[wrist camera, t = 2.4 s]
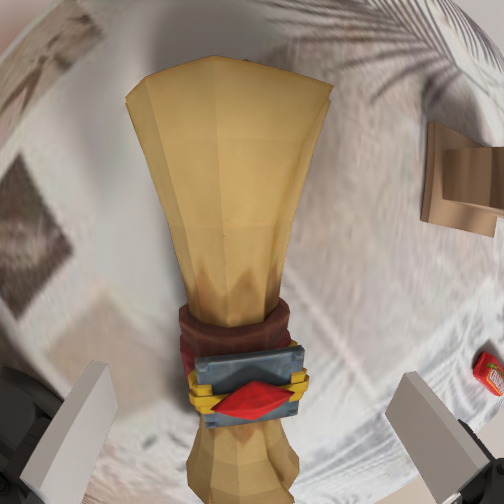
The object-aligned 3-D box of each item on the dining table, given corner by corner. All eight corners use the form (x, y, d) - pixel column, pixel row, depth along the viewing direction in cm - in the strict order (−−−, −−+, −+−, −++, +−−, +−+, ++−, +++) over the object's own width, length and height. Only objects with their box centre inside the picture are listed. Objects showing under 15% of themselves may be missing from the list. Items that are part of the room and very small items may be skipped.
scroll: (156, 114, 16) (88, 51, 6) (304, 112, 16) (377, 48, 7) (191, 435, 22) (184, 520, 12) (290, 430, 23) (312, 513, 13)
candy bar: (504, 374, 27) (514, 383, 24) (490, 392, 27) (500, 401, 24) (481, 344, 23) (496, 355, 21) (464, 368, 24) (478, 380, 21)
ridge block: (420, 220, 19) (490, 240, 11) (428, 123, 17) (496, 109, 9) (487, 235, 20) (543, 253, 12) (494, 156, 18) (550, 158, 10)
